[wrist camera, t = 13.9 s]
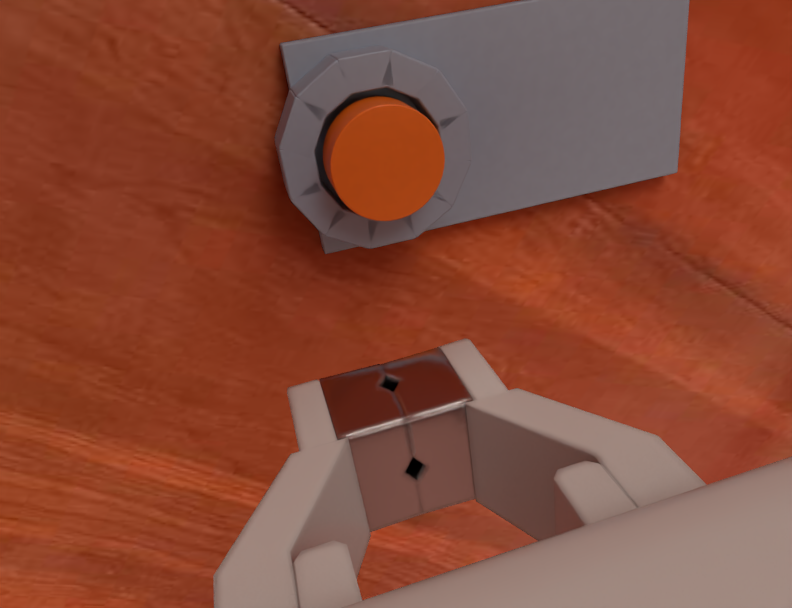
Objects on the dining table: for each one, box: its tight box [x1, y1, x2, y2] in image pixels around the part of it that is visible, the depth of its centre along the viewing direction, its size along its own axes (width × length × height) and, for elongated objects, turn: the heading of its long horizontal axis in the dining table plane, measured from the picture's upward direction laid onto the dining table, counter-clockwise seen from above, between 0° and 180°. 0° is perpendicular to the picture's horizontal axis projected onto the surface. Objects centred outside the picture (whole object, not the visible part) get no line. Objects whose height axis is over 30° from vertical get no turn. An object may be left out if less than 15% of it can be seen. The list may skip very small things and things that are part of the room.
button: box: [323, 96, 445, 221], centre depth 23 cm, size 4×4×2 cm
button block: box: [275, 0, 689, 254], centre depth 25 cm, size 17×8×2 cm, turn 98°
